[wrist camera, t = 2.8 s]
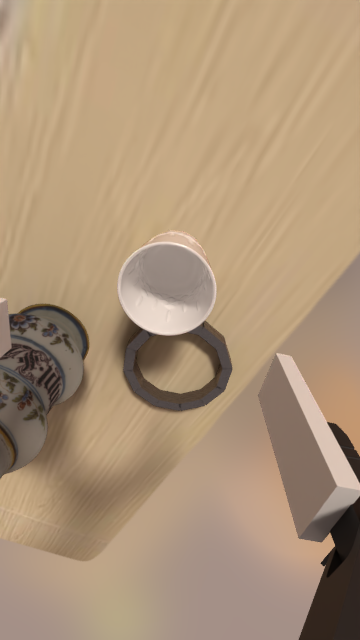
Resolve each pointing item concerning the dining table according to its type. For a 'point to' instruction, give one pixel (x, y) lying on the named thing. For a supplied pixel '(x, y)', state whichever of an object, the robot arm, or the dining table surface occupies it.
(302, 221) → the dining table surface
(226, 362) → the collar ring
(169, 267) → the white cup
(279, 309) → the dining table surface
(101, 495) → the dining table surface
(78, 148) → the dining table surface
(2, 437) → the apothecary jar
